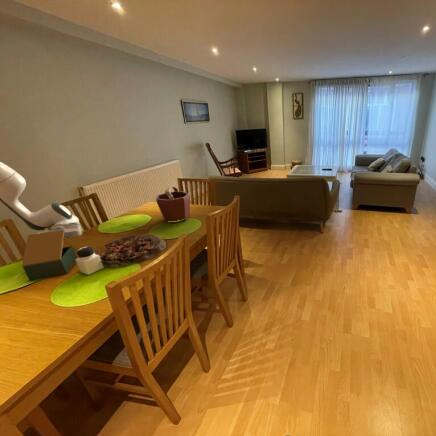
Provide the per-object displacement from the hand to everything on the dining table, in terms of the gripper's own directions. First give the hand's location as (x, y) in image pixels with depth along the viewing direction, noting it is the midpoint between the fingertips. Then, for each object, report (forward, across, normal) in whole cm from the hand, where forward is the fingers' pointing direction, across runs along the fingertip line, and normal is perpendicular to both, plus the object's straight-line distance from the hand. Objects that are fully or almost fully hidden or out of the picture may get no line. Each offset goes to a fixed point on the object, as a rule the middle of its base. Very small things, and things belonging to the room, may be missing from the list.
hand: (51, 240), depth 121 cm
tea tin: (+7, 0, +13) cm, 15 cm away
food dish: (+4, +33, +13) cm, 36 cm away
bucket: (-40, +56, +13) cm, 70 cm away
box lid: (+8, 0, 0) cm, 8 cm away
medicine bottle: (+16, +17, +13) cm, 27 cm away
